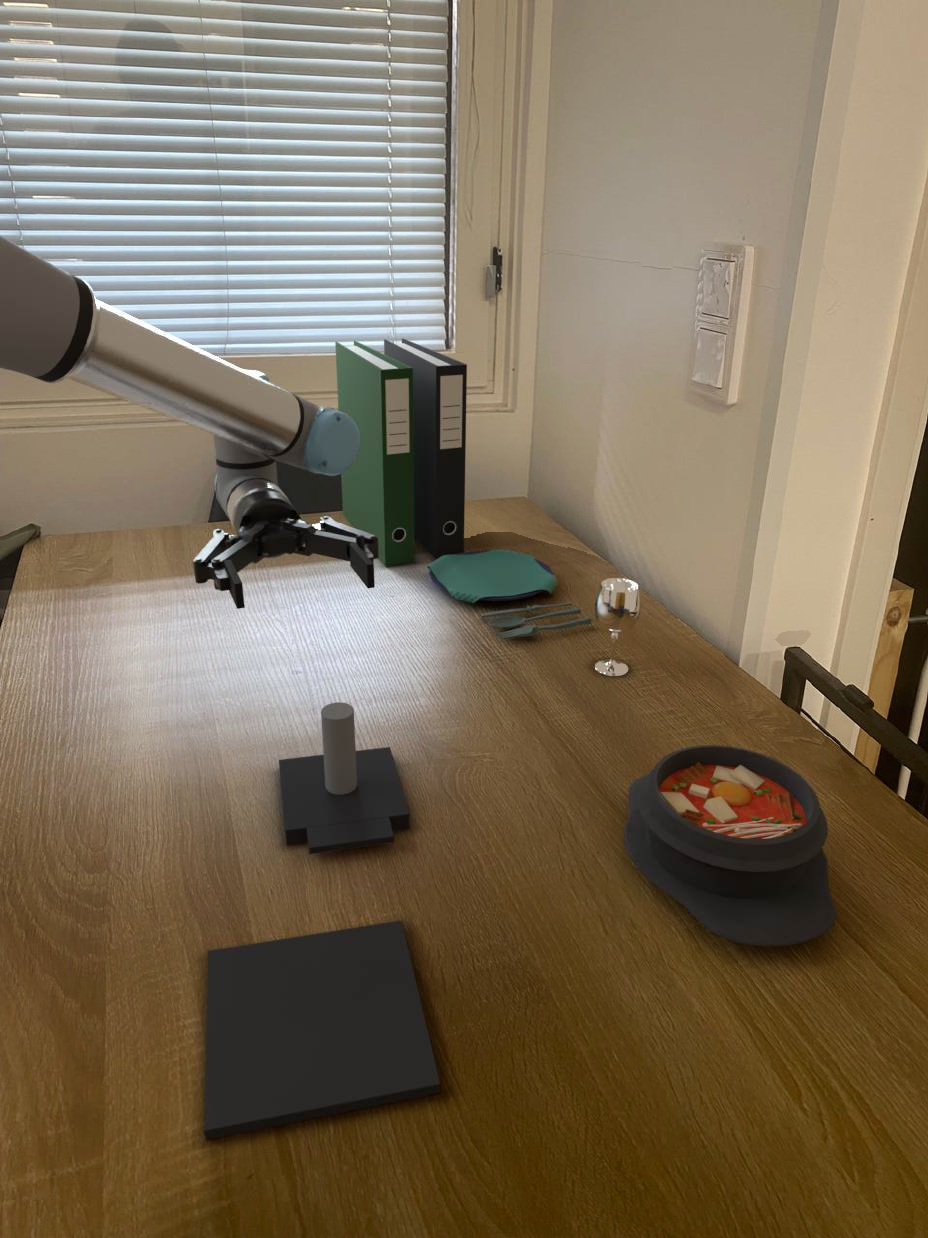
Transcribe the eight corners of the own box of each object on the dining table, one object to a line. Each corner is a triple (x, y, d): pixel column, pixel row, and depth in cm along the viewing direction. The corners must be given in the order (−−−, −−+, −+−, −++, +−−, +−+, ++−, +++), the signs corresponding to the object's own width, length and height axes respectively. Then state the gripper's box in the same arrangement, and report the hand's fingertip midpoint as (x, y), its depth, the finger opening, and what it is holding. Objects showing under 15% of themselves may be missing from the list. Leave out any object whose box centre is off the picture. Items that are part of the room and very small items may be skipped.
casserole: (887, 948, 77) (909, 871, 73) (679, 977, 74) (692, 897, 70) (751, 775, 99) (763, 709, 95) (587, 792, 96) (593, 724, 92)
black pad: (205, 1141, 60) (203, 1131, 60) (209, 959, 74) (207, 950, 74) (440, 1093, 64) (440, 1084, 63) (401, 928, 78) (401, 919, 77)
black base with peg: (288, 866, 85) (280, 770, 80) (279, 773, 98) (272, 686, 93) (415, 848, 87) (414, 754, 83) (390, 760, 100) (388, 675, 96)
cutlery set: (524, 555, 156) (525, 542, 155) (605, 629, 131) (606, 614, 130) (413, 568, 150) (413, 555, 149) (475, 648, 125) (476, 633, 124)
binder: (339, 515, 173) (331, 341, 159) (412, 506, 178) (410, 337, 164) (385, 566, 151) (380, 369, 137) (467, 554, 156) (470, 364, 142)
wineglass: (585, 658, 123) (592, 576, 117) (626, 657, 123) (635, 575, 118) (595, 679, 117) (603, 595, 112) (638, 678, 118) (648, 593, 113)
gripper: (364, 535, 116) (422, 600, 99) (161, 562, 107) (185, 639, 90) (362, 478, 113) (421, 535, 95) (152, 501, 104) (175, 569, 87)
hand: (307, 586), depth 93 cm, fingers open, 13 cm apart
